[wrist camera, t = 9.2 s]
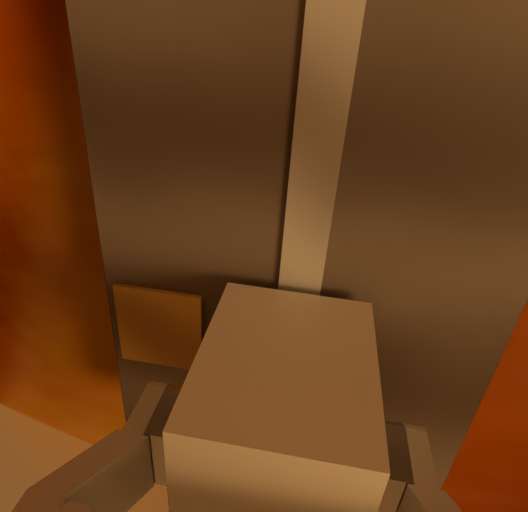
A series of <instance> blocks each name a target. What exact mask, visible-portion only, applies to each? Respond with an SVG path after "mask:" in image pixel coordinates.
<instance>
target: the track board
mask: <svg viewBox="0 0 528 512" xmlns="http://www.w3.org/2000/svg"><path fill="white" fill-rule="evenodd" d="M65 3H66V10H67V17H68V23H69V30H70V37H71V44H72V51H73V58H74V65H75V72H76V79H77V86H78V93H79V100H80V107H81V113H82V120H83V127H84V134H85V141H86V148H87V155H88V162H89V169H90V176H91V183H92V190H93V197H94V203H95V210H96V217H97V224H98V231H99V238H100V245H101V252H102V259H103V266H104V273H105V280H106V287H107V293H108V300H109V307H110V314H111V321H112V328H113V335H114V342H115V349H116V356H117V363H118V370H119V377H120V384H121V390H122V397H123V404H124V411H125V418H126V422H127V420H128V419H129V417H130V415H131V413H132V411H133V409H134V407H135V406H136V404H137V402H138V400H139V398H140V396H141V395H142V393H143V391H144V389H145V387H146V385H147V384H148V383H149V382H150V381H151V380H152V381H157V382H162V383H167V384H174V385H179V386H183V384H184V381H185V379H186V377H187V375H188V372H189V370H190V368H191V365H192V363H193V361H194V359H195V356H196V354H197V352H198V349H199V347H200V345H201V343H202V340H203V338H204V336H205V333H206V331H207V329H208V326H209V324H210V322H211V320H212V317H213V315H214V313H215V310H216V308H217V306H218V304H219V301H220V299H221V297H222V294H223V292H224V290H225V288H226V285H227V283H228V282H229V283H235V284H242V285H249V286H256V287H263V288H270V289H277V290H284V291H291V292H298V293H305V294H312V295H319V296H326V297H333V298H340V299H347V300H354V301H361V302H368V303H372V307H373V316H374V326H375V335H376V344H377V354H378V363H379V372H380V382H381V391H382V400H383V410H384V419H385V421H392V422H398V423H402V424H408V425H414V426H420V427H424V428H425V430H426V431H427V436H428V440H429V445H430V450H431V454H432V459H433V464H434V468H435V473H436V477H437V482H438V487H439V490H441V488H442V486H443V484H444V481H445V479H446V477H447V475H448V473H449V470H450V468H451V466H452V464H453V462H454V459H455V457H456V455H457V453H458V451H459V448H460V446H461V444H462V442H463V440H464V438H465V435H466V433H467V431H468V429H469V427H470V424H471V422H472V420H473V418H474V416H475V413H476V411H477V409H478V407H479V405H480V402H481V400H482V398H483V396H484V394H485V391H486V389H487V387H488V385H489V383H490V380H491V378H492V376H493V374H494V372H495V369H496V367H497V365H498V363H499V361H500V358H501V356H502V354H503V352H504V350H505V347H506V345H507V343H508V341H509V339H510V336H511V334H512V332H513V330H514V328H515V325H516V323H517V321H518V319H519V317H520V314H521V312H522V310H523V308H524V306H525V303H526V301H527V299H528V0H65Z"/></svg>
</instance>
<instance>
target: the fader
mask: <svg viewBox="0 0 528 512" xmlns="http://www.w3.org/2000/svg"><path fill="white" fill-rule="evenodd" d="M163 444H164V456H165V468H166V480H167V492H168V504H169V512H378V509H379V506H380V503H381V500H382V497H383V494H384V491H385V488H386V485H387V483H388V480H389V477H390V466H389V456H388V447H387V438H386V428H385V419H384V410H383V400H382V391H381V382H380V372H379V363H378V354H377V344H376V335H375V326H374V316H373V307H372V303H368V302H361V301H354V300H347V299H340V298H333V297H326V296H319V295H312V294H305V293H298V292H291V291H284V290H277V289H270V288H263V287H256V286H249V285H242V284H235V283H229V282H228V283H227V285H226V288H225V290H224V292H223V294H222V297H221V299H220V301H219V304H218V306H217V308H216V310H215V313H214V315H213V317H212V320H211V322H210V324H209V326H208V329H207V331H206V333H205V336H204V338H203V340H202V343H201V345H200V347H199V349H198V352H197V354H196V356H195V359H194V361H193V363H192V365H191V368H190V370H189V372H188V375H187V377H186V379H185V381H184V384H183V386H182V388H181V391H180V393H179V395H178V397H177V400H176V402H175V404H174V407H173V409H172V411H171V413H170V416H169V418H168V420H167V423H166V425H165V427H164V430H163Z"/></svg>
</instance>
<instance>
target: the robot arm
mask: <svg viewBox="0 0 528 512" xmlns="http://www.w3.org/2000/svg"><path fill="white" fill-rule="evenodd" d="M181 388H182V386H179V385H174V384H167V383H162V382H157V381H152V380H151V381H150V382H149V383H148V384H147V385H146V387H145V389H144V391H143V393H142V395H141V396H140V398H139V400H138V402H137V404H136V406H135V407H134V409H133V411H132V413H131V415H130V417H129V419H128V420H127V422H126V424H125V426H124V428H123V430H122V431H120V430H116V431H114V432H113V433H111V434H110V435H108V436H107V437H105V438H104V439H102V440H101V441H99V442H98V443H96V444H95V445H93V446H92V447H90V448H89V449H87V450H85V451H84V452H82V453H81V454H79V455H78V456H76V457H75V458H73V459H72V460H71V461H69V462H68V463H66V464H64V465H63V466H61V467H60V468H59V469H57V470H55V471H54V472H52V473H51V474H49V475H48V476H46V477H45V478H43V479H42V480H40V481H39V482H37V483H36V484H34V485H33V486H31V487H30V488H28V489H27V490H26V491H25V493H24V494H23V496H22V497H21V499H20V500H19V502H18V503H17V505H16V506H15V508H14V509H13V511H12V512H127V511H128V510H129V509H130V508H131V507H132V506H133V505H134V504H135V503H136V502H137V501H139V500H140V499H141V498H142V497H143V496H144V495H145V494H146V493H147V492H148V491H149V490H150V489H151V488H152V487H153V486H154V484H160V485H166V486H167V480H166V468H165V456H164V444H163V430H164V427H165V425H166V423H167V420H168V418H169V416H170V413H171V411H172V409H173V407H174V404H175V402H176V400H177V397H178V395H179V393H180V391H181ZM385 428H386V438H387V447H388V456H389V466H390V477H389V480H388V483H387V485H386V488H385V491H384V494H383V497H382V500H381V503H380V506H379V509H378V512H462V510H461V509H460V508H459V507H458V506H457V504H456V503H455V502H454V501H453V499H452V498H451V497H450V496H449V494H448V493H447V492H446V491H444V490H439V487H438V482H437V477H436V473H435V468H434V464H433V459H432V454H431V450H430V445H429V440H428V436H427V431H426V430H425V428H424V427H420V426H414V425H408V424H402V423H398V422H392V421H385Z"/></svg>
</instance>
